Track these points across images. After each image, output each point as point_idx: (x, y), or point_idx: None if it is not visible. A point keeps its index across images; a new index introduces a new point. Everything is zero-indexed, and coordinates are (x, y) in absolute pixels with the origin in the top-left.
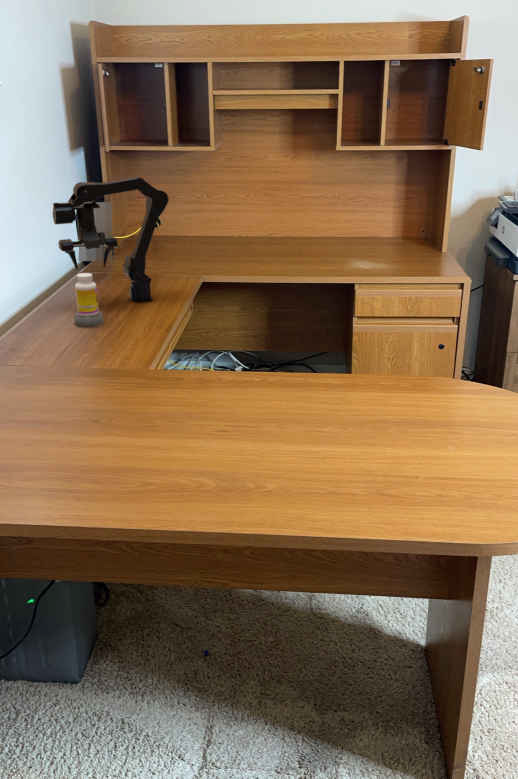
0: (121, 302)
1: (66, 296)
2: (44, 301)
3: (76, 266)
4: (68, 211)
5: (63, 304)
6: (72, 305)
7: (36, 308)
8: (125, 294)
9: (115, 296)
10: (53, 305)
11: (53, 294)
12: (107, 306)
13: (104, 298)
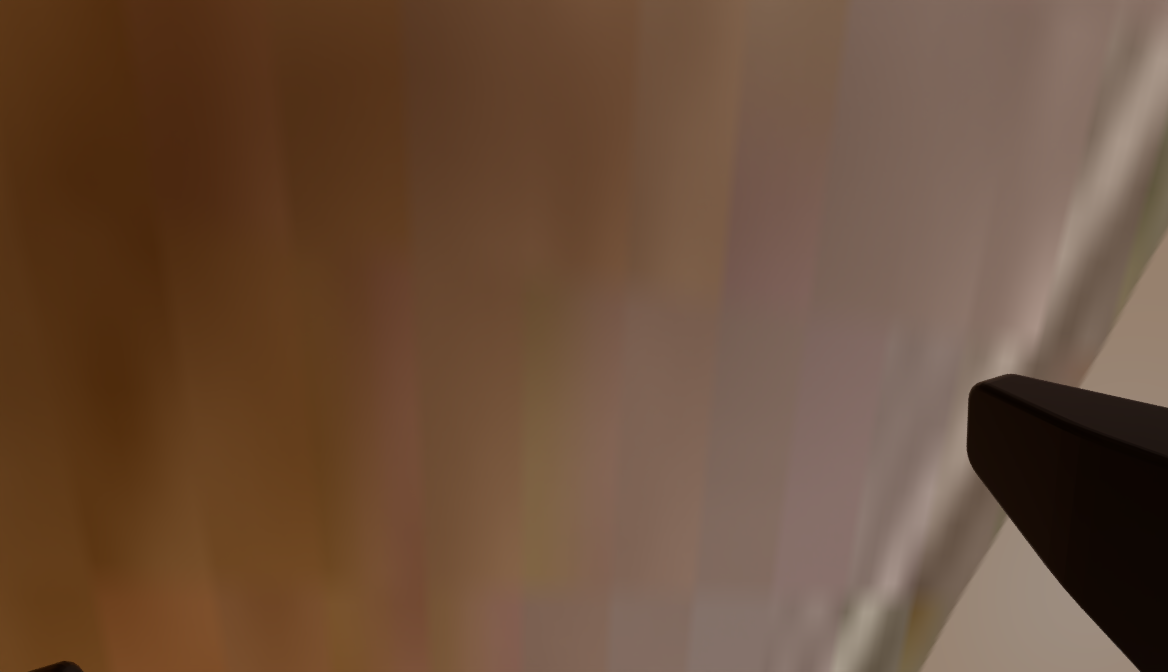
0: (7, 284)
1: (752, 583)
2: None
3: (1107, 409)
4: None
5: (819, 299)
6: (724, 241)
7: (1111, 186)
8: (24, 643)
9: (162, 567)
10: (927, 276)
11: (861, 644)
12: (223, 100)
13: (311, 493)
